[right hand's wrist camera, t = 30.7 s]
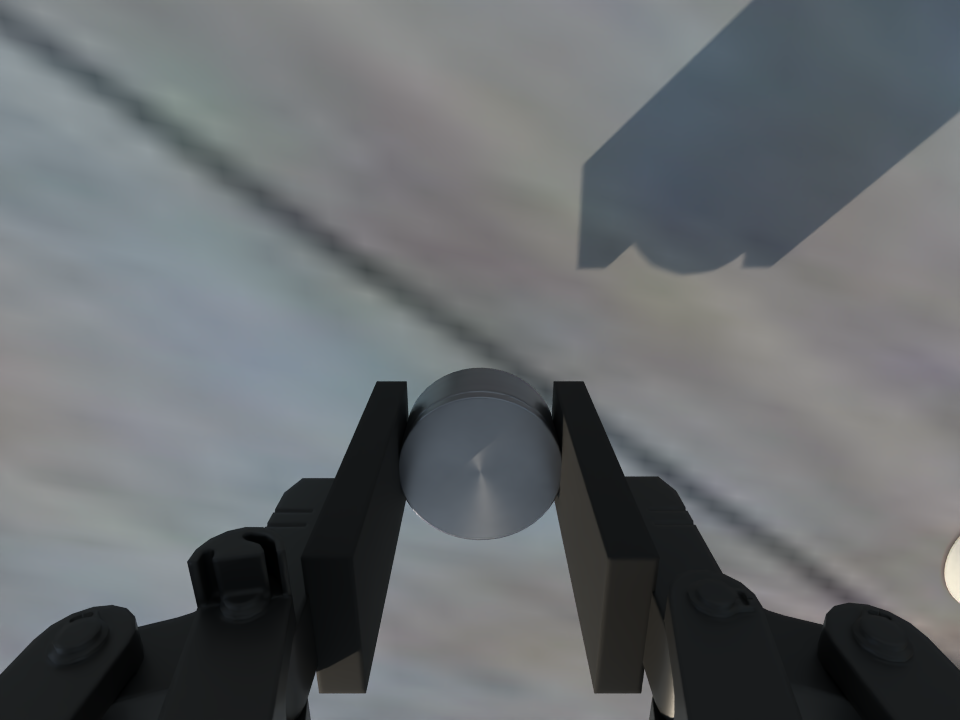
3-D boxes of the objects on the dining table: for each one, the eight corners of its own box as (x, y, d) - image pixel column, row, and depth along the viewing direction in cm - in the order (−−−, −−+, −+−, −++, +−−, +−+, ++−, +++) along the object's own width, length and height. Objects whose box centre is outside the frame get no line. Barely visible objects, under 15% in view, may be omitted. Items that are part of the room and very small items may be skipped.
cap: (483, 336, 14) (483, 363, 12) (584, 437, 15) (597, 474, 13) (376, 432, 15) (362, 470, 13) (478, 521, 16) (477, 567, 14)
